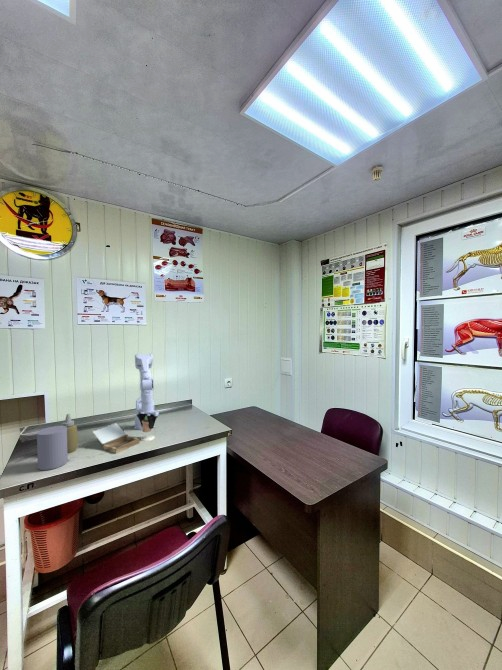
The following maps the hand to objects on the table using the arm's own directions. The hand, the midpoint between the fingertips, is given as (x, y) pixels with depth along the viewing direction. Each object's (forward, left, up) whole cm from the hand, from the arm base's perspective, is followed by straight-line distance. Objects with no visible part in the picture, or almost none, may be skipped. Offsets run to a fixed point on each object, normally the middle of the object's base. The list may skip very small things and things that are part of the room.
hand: (147, 427), depth 140 cm
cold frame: (-6, -12, -6) cm, 15 cm away
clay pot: (0, 0, -2) cm, 2 cm away
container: (-15, -37, -6) cm, 41 cm away
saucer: (0, 0, -6) cm, 6 cm away
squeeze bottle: (-22, -27, -6) cm, 36 cm away
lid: (-13, -12, -1) cm, 18 cm away
